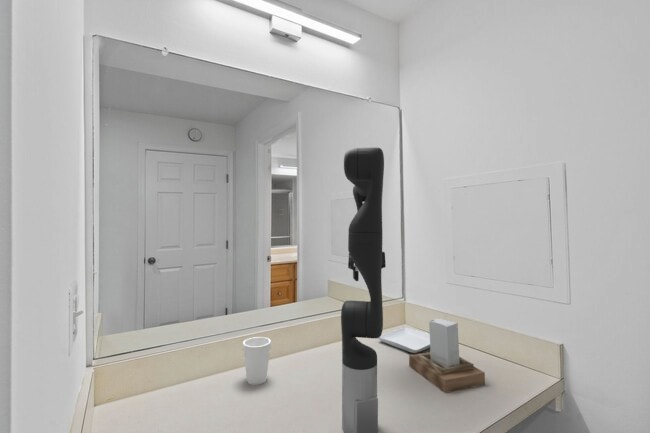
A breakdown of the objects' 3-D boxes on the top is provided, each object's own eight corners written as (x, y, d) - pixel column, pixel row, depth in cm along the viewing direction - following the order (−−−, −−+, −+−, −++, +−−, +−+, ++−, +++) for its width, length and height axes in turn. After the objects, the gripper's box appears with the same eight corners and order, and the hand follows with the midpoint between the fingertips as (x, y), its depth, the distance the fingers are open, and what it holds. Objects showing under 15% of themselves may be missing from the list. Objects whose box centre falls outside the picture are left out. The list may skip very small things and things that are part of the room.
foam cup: (242, 388, 109) (243, 348, 109) (242, 375, 118) (242, 338, 118) (272, 384, 112) (272, 345, 112) (269, 372, 120) (269, 335, 120)
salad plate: (405, 332, 163) (405, 325, 163) (445, 345, 146) (445, 338, 146) (375, 343, 149) (375, 335, 149) (416, 359, 133) (416, 350, 133)
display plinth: (484, 384, 112) (484, 368, 112) (444, 392, 106) (445, 375, 106) (444, 360, 131) (444, 346, 131) (409, 366, 125) (409, 351, 125)
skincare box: (459, 366, 116) (459, 323, 116) (448, 370, 113) (448, 326, 113) (440, 357, 124) (440, 317, 124) (428, 361, 120) (428, 319, 120)
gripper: (353, 237, 119) (353, 283, 119) (389, 236, 124) (389, 280, 124) (345, 236, 126) (345, 279, 126) (379, 235, 131) (379, 277, 131)
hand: (367, 280), depth 125 cm, fingers open, 8 cm apart
